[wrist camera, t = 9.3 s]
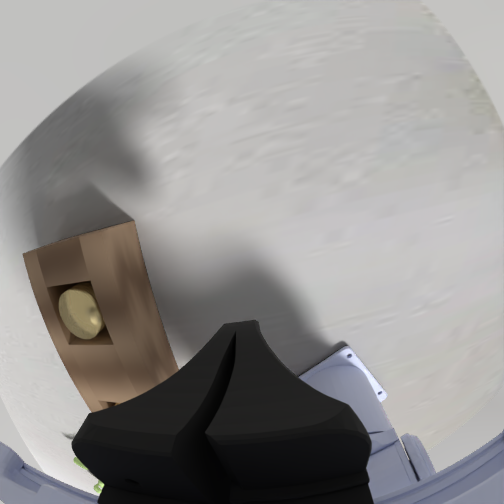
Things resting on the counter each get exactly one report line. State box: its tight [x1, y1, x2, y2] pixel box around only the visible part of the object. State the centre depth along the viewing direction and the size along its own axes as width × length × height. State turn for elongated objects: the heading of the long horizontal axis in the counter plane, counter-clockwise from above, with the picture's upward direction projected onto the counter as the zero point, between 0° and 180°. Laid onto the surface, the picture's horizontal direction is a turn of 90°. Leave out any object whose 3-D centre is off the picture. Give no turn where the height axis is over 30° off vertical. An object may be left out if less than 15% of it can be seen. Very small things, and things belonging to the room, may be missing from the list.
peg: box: [59, 280, 106, 339], centre depth 19 cm, size 4×4×5 cm
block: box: [23, 221, 179, 412], centre depth 20 cm, size 22×9×5 cm, turn 10°
